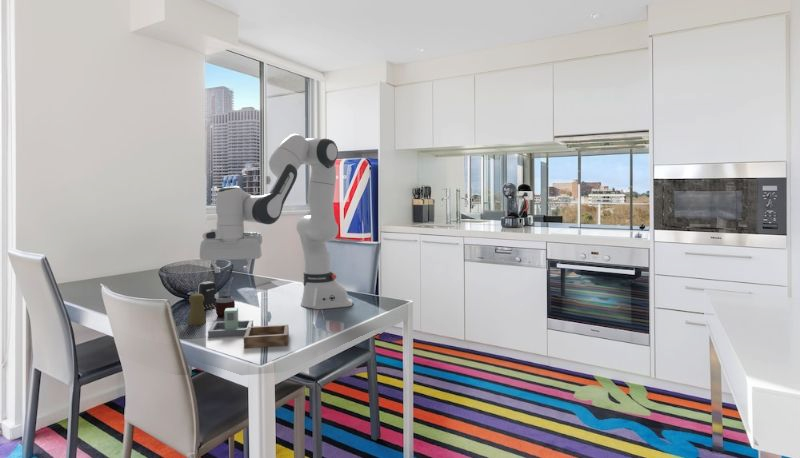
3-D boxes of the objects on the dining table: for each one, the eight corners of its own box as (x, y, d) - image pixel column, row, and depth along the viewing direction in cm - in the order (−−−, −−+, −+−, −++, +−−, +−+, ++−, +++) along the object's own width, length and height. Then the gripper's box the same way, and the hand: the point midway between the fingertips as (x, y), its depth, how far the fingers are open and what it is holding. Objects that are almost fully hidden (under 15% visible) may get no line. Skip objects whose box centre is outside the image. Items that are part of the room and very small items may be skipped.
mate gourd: (216, 320, 172) (215, 281, 171) (214, 315, 179) (213, 278, 178) (237, 318, 175) (236, 280, 174) (234, 313, 182) (233, 276, 181)
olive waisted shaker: (200, 319, 173) (199, 291, 172) (209, 322, 169) (208, 293, 168) (185, 323, 168) (184, 294, 167) (194, 326, 164) (193, 296, 163)
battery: (203, 311, 184) (202, 284, 183) (197, 310, 186) (196, 283, 185) (218, 308, 190) (217, 281, 189) (212, 306, 192) (212, 280, 191)
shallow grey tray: (253, 325, 166) (253, 319, 165) (249, 335, 155) (249, 329, 154) (214, 327, 163) (214, 321, 163) (208, 337, 152) (208, 331, 152)
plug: (238, 329, 161) (238, 307, 160) (236, 333, 157) (236, 310, 156) (226, 330, 160) (226, 308, 160) (224, 334, 156) (224, 311, 155)
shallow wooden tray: (288, 334, 156) (288, 324, 156) (287, 345, 145) (287, 334, 144) (248, 336, 153) (247, 326, 153) (243, 348, 142) (243, 337, 142)
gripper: (262, 231, 162) (263, 269, 163) (201, 232, 157) (203, 271, 159) (260, 233, 156) (262, 272, 157) (197, 234, 151) (199, 274, 153)
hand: (231, 272), depth 158 cm, fingers open, 8 cm apart
